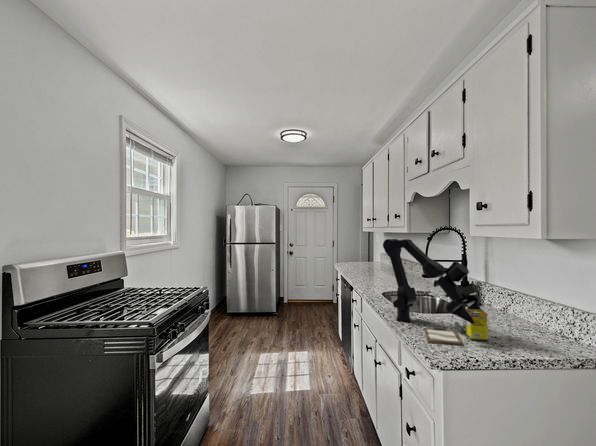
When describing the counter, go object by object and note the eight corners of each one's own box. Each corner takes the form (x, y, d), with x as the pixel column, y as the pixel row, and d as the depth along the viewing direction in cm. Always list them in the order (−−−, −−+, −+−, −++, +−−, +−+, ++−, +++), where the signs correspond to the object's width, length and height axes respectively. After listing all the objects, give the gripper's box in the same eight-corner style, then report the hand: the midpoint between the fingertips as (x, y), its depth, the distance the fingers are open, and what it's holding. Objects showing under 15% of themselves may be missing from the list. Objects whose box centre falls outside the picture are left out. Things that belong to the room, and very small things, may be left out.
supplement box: (488, 341, 125) (487, 313, 125) (471, 340, 126) (470, 312, 126) (482, 336, 131) (482, 309, 131) (466, 335, 132) (465, 308, 132)
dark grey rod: (459, 325, 146) (454, 325, 146) (458, 321, 146) (454, 321, 147) (465, 334, 134) (460, 334, 134) (465, 330, 134) (460, 330, 134)
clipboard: (424, 330, 139) (424, 326, 139) (454, 332, 136) (454, 328, 136) (427, 342, 124) (427, 338, 124) (462, 345, 121) (462, 341, 121)
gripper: (452, 279, 127) (483, 313, 118) (475, 274, 138) (504, 305, 129) (434, 296, 133) (461, 329, 124) (457, 290, 144) (483, 321, 135)
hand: (479, 320), depth 128 cm, fingers open, 9 cm apart
